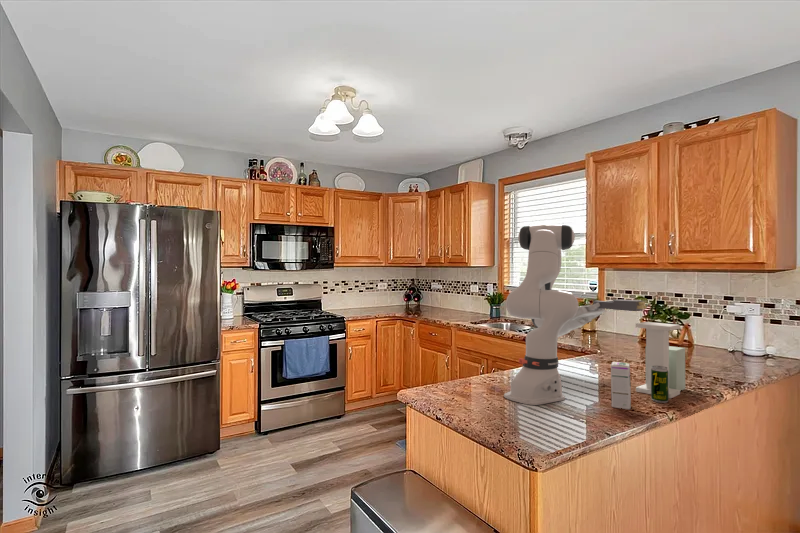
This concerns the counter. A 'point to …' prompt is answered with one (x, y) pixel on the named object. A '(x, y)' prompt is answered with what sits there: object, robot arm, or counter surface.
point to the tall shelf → (656, 351)
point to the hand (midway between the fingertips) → (602, 303)
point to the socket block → (676, 368)
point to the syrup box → (620, 385)
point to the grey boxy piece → (622, 305)
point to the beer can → (659, 384)
